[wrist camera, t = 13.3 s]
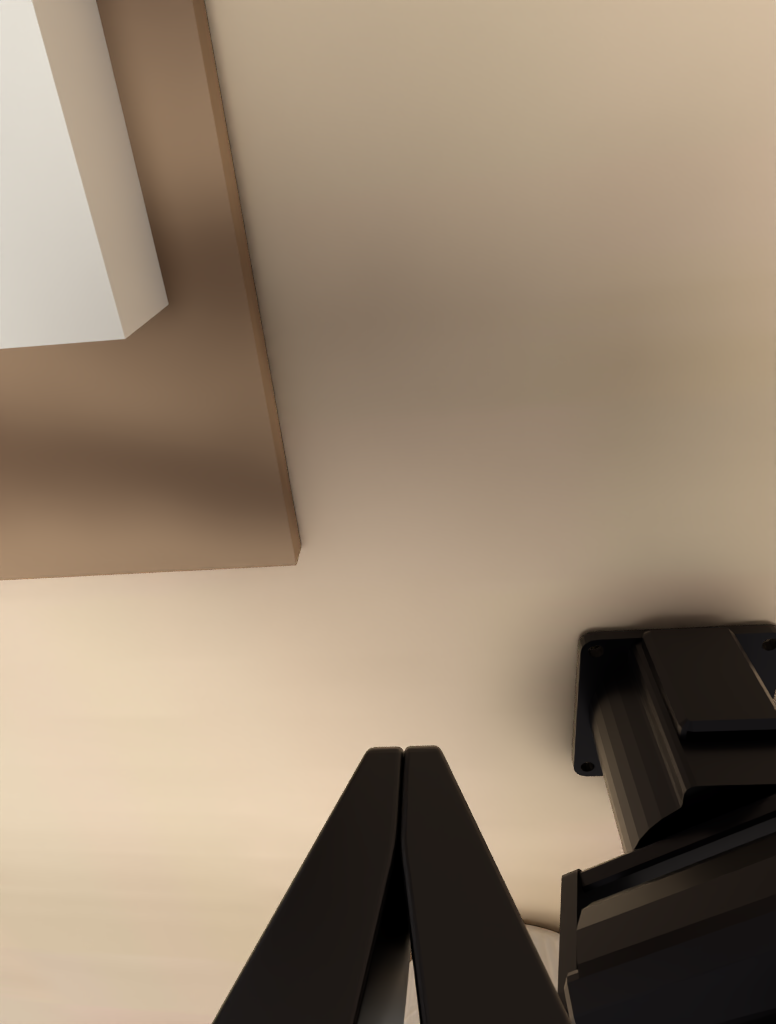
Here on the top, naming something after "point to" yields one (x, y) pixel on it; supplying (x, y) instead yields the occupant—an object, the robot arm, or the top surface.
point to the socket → (68, 185)
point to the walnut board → (155, 360)
